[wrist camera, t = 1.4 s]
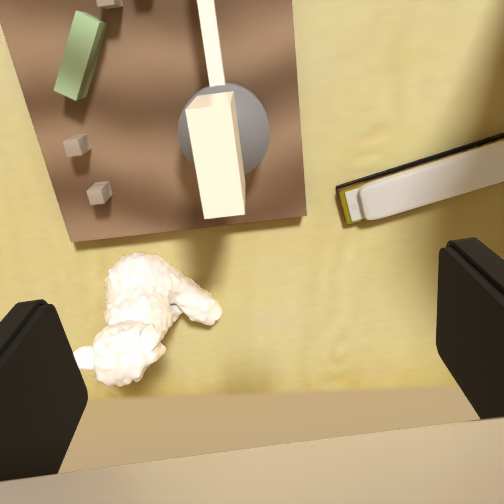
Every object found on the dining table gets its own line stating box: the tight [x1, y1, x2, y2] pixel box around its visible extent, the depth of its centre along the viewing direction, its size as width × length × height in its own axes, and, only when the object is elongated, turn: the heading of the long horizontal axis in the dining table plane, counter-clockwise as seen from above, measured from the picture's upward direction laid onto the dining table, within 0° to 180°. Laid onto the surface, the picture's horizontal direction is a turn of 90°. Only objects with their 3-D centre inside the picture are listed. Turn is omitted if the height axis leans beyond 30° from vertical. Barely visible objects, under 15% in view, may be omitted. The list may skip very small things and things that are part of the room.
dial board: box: [0, 0, 307, 242], centre depth 30 cm, size 19×18×4 cm
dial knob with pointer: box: [178, 0, 270, 219], centre depth 24 cm, size 13×6×10 cm, turn 7°
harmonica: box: [336, 133, 504, 225], centre depth 33 cm, size 15×3×2 cm, turn 108°
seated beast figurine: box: [73, 252, 222, 387], centre depth 32 cm, size 10×9×12 cm
